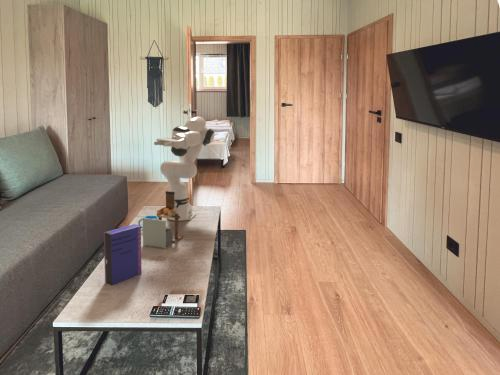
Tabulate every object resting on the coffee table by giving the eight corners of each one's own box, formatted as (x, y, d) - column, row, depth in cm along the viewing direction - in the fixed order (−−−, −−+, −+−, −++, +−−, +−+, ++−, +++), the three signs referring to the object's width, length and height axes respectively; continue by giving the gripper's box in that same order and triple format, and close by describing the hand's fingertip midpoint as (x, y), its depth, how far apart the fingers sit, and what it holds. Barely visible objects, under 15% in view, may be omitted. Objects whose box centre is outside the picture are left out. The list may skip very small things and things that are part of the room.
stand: (161, 235, 296) (161, 209, 293) (183, 238, 292) (183, 211, 288) (153, 239, 287) (153, 213, 283) (175, 242, 282) (175, 215, 279)
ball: (165, 213, 286) (165, 207, 285) (170, 213, 285) (170, 207, 284) (162, 214, 283) (162, 208, 282) (167, 215, 282) (167, 209, 281)
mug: (159, 228, 309) (158, 216, 307) (155, 232, 301) (155, 219, 299) (140, 227, 310) (140, 215, 308) (136, 231, 302) (136, 218, 300)
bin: (153, 240, 286) (152, 213, 283) (174, 243, 282) (174, 216, 279) (143, 245, 276) (142, 218, 272) (165, 248, 271) (165, 221, 268)
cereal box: (134, 271, 238) (133, 223, 233) (141, 274, 235) (140, 225, 230) (105, 282, 224) (103, 231, 219) (112, 285, 221) (110, 234, 216)
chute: (164, 214, 291) (164, 190, 288) (177, 216, 288) (177, 191, 285) (156, 218, 282) (155, 193, 279) (169, 220, 279) (169, 195, 276)
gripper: (167, 134, 300) (148, 137, 290) (188, 137, 286) (169, 140, 276) (168, 144, 301) (149, 148, 292) (189, 147, 287) (170, 151, 278)
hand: (159, 144), depth 284 cm, fingers open, 8 cm apart
